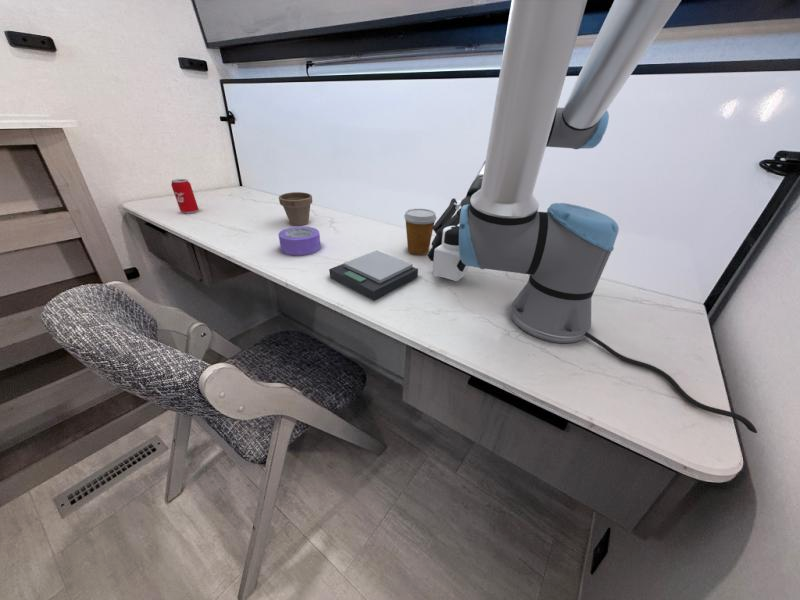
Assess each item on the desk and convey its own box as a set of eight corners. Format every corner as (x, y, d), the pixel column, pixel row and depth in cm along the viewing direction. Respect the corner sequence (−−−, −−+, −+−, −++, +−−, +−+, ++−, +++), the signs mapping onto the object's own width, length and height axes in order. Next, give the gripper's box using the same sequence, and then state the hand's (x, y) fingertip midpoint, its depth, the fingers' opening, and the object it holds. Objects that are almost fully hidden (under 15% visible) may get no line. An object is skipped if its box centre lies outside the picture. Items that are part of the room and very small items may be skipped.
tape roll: (327, 243, 97) (326, 228, 95) (308, 258, 88) (306, 241, 85) (294, 239, 100) (292, 224, 97) (273, 252, 90) (269, 236, 88)
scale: (417, 277, 79) (418, 265, 78) (373, 300, 69) (373, 287, 67) (374, 259, 88) (374, 248, 86) (329, 277, 78) (328, 265, 76)
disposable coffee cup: (431, 258, 90) (435, 218, 83) (400, 255, 91) (401, 215, 85) (434, 247, 98) (438, 209, 91) (405, 244, 99) (407, 206, 93)
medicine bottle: (468, 271, 80) (475, 227, 74) (457, 282, 75) (464, 235, 69) (443, 265, 83) (448, 221, 77) (431, 274, 78) (435, 229, 72)
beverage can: (183, 210, 124) (172, 178, 117) (200, 209, 125) (190, 178, 119) (179, 214, 119) (167, 182, 112) (197, 213, 120) (186, 181, 114)
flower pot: (307, 229, 108) (303, 200, 103) (277, 227, 110) (272, 198, 104) (319, 220, 118) (316, 193, 113) (292, 217, 119) (288, 191, 114)
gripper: (528, 203, 74) (485, 283, 72) (456, 189, 86) (417, 258, 84) (525, 183, 68) (478, 270, 66) (448, 171, 80) (405, 245, 78)
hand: (444, 263), depth 75 cm, fingers closed on medicine bottle, 8 cm apart
